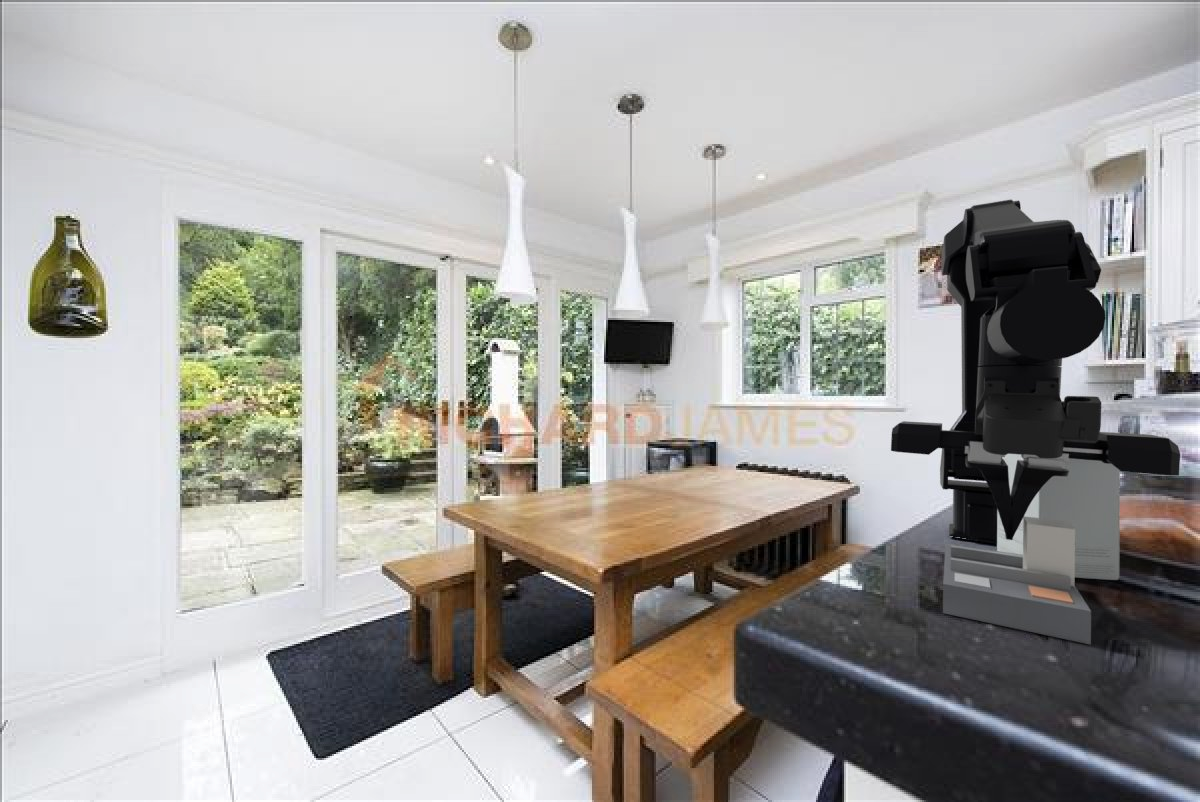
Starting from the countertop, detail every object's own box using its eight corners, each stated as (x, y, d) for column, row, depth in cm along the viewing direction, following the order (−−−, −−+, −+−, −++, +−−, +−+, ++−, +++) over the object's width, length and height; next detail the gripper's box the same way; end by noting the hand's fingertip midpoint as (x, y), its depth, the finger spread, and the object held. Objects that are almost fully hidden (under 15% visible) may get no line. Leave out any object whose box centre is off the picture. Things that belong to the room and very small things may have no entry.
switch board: (945, 566, 53) (945, 534, 53) (1058, 585, 48) (1058, 549, 48) (942, 613, 42) (943, 572, 42) (1090, 644, 36) (1091, 597, 36)
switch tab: (1022, 568, 45) (1023, 516, 45) (1067, 575, 43) (1067, 521, 43) (1026, 578, 42) (1027, 523, 42) (1074, 586, 41) (1075, 529, 41)
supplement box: (1122, 581, 49) (1124, 455, 48) (1036, 576, 50) (1038, 453, 50) (1068, 557, 56) (1069, 447, 56) (994, 553, 57) (995, 446, 57)
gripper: (887, 363, 43) (880, 538, 43) (1217, 361, 32) (1202, 596, 32) (900, 368, 52) (893, 514, 52) (1161, 368, 41) (1149, 553, 41)
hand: (1009, 538), depth 44 cm, fingers closed
